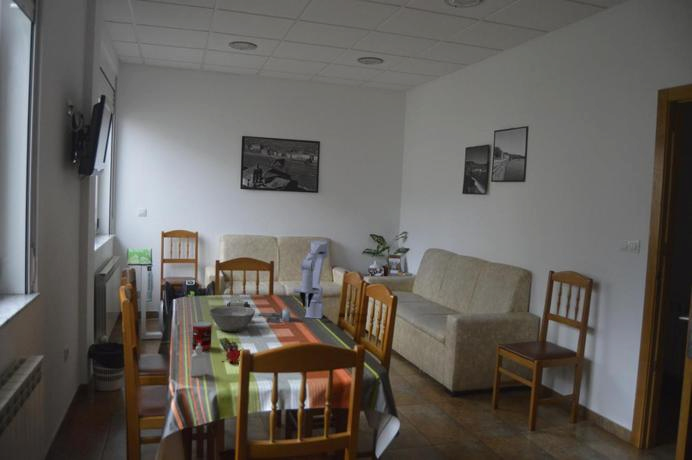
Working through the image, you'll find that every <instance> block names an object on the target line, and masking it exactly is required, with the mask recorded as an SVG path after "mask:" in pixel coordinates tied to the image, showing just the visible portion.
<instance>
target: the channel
mask: <svg viewBox="0 0 692 460" xmlns="http://www.w3.org/2000/svg"><path fill="white" fill-rule="evenodd" d="M281 320H282V313H275V312H272V314H271V317H268V316H267V317H266V323H271V324H279V323H281Z"/></svg>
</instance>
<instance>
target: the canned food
mask: <svg viewBox="0 0 692 460" xmlns="http://www.w3.org/2000/svg"><path fill="white" fill-rule="evenodd" d="M212 329H213V326H212V323H211V322H209V321H197V322H193V323H192V337H191V338H192V341H191V343H192V345H191V346H192V347H191V348H192V349H193V351H196V347H197V346H198V343H200V346H201V347H202V350H206V351H209V350H210V349H211V348H212ZM208 349H209V350H208Z"/></svg>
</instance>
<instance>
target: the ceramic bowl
mask: <svg viewBox="0 0 692 460" xmlns="http://www.w3.org/2000/svg"><path fill="white" fill-rule="evenodd" d="M208 312H209V314H210V316H211V318H212V320H213V322H214V323H215V324H216V326H218V328H219V329H220V330H223V331H225V332H241V331H244V330H245V329H247V328H248V325H249V324H250V322H251V321H252V320H253V318H254V316H255V313H256V310H255V309H254V308H252V307H250V308H248V307H241V306H227V305H224V306H215V307H212V308H210V309H209V311H208Z"/></svg>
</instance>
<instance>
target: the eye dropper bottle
mask: <svg viewBox="0 0 692 460" xmlns="http://www.w3.org/2000/svg"><path fill="white" fill-rule="evenodd" d="M207 358H208V357H207V354H206V353H205V352H203V351H202V347H201V346H200V343H198V346H197V347H196V350H195V353H193V354H191V355H190V370H189V371H190V372H189V373H190V374H189V375H190V376H191V377H193V378H195V377H196V378H197V376H198V377H203V376H202V375H204V376H206V374H207Z"/></svg>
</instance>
